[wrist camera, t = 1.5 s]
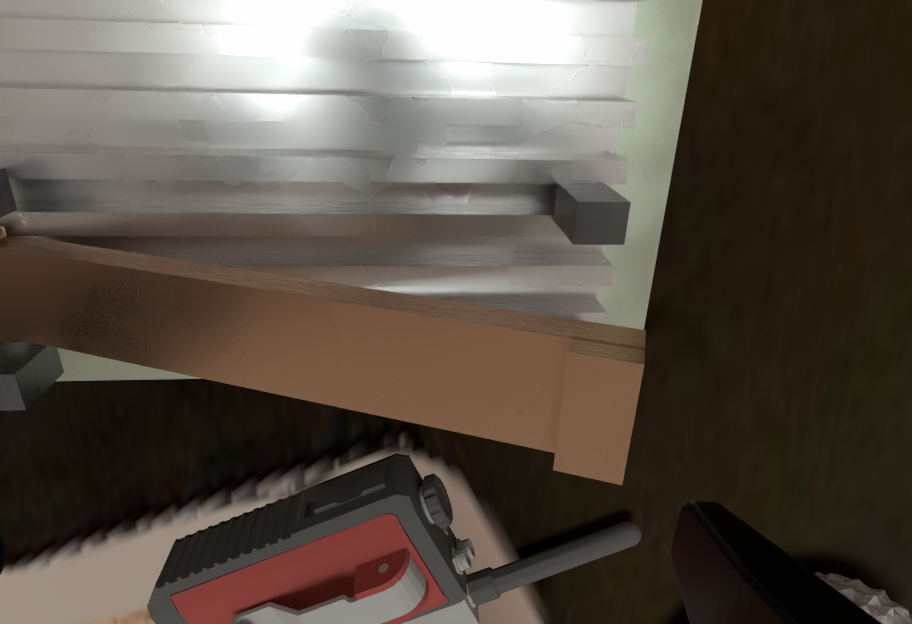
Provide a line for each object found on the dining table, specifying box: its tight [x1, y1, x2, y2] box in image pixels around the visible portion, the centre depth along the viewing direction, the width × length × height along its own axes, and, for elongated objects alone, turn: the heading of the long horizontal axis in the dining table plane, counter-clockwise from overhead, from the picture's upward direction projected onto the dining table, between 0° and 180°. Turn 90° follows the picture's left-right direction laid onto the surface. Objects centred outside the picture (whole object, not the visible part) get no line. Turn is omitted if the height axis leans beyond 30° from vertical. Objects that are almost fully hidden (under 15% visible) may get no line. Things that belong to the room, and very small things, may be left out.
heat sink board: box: [0, 0, 702, 411], centre depth 14 cm, size 22×22×7 cm
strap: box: [0, 225, 646, 485], centre depth 12 cm, size 15×3×1 cm, turn 88°
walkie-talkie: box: [147, 454, 641, 624], centre depth 24 cm, size 9×4×20 cm
